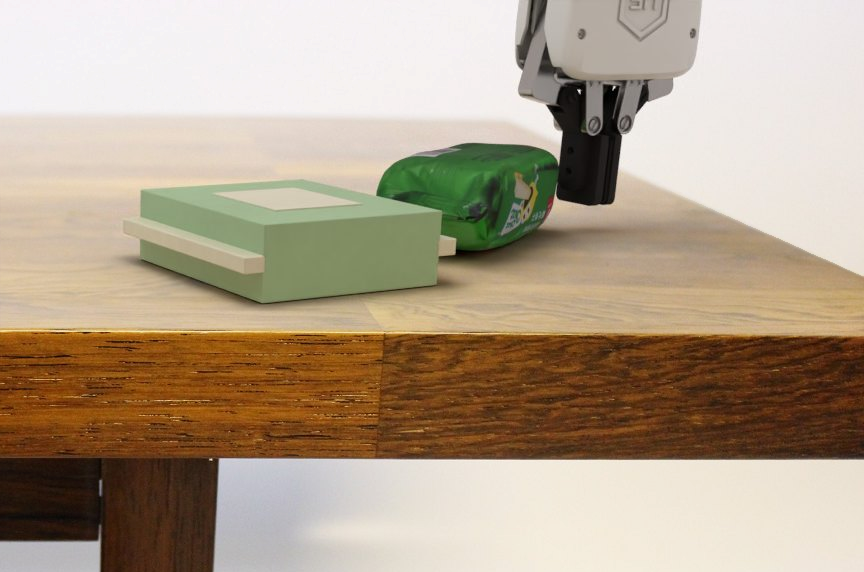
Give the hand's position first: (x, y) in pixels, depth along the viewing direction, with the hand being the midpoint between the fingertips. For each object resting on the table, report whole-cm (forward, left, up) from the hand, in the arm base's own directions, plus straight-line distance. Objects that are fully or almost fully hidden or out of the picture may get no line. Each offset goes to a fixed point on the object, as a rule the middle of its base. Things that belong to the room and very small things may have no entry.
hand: (584, 201), depth 87 cm
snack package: (+9, +1, -2) cm, 9 cm away
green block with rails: (+23, +3, -2) cm, 23 cm away
